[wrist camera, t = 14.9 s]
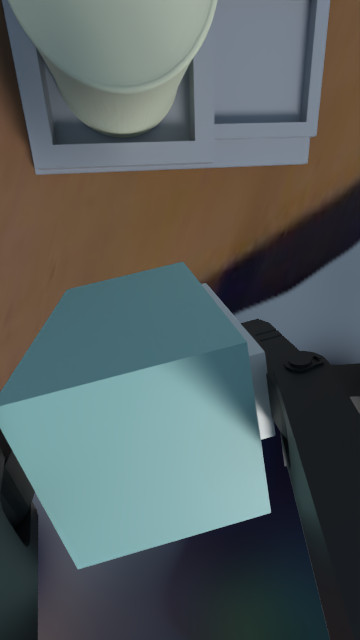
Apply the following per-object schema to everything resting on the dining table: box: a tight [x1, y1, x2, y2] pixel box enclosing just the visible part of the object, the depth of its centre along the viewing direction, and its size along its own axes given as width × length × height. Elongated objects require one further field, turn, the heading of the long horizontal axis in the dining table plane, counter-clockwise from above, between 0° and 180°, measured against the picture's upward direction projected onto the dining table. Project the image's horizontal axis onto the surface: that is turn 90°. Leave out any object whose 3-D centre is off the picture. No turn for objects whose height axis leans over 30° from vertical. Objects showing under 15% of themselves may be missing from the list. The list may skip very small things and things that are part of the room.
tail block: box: [0, 262, 271, 569], centre depth 11 cm, size 5×5×8 cm
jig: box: [2, 0, 330, 175], centre depth 24 cm, size 23×14×3 cm, turn 93°
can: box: [8, 0, 218, 138], centre depth 18 cm, size 9×9×12 cm
